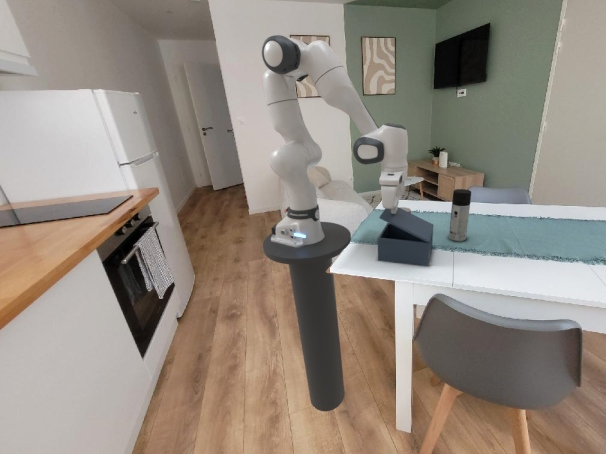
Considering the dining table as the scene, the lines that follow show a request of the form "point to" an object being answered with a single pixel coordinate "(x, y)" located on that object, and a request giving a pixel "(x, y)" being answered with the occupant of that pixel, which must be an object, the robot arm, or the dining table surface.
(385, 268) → the dining table surface
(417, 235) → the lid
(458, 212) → the spray can
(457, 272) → the dining table surface
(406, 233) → the dark blue box
